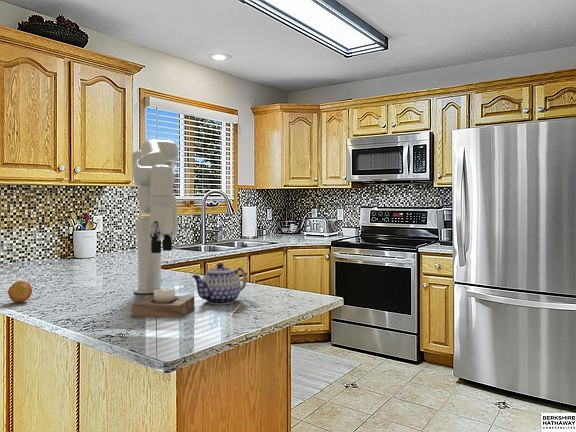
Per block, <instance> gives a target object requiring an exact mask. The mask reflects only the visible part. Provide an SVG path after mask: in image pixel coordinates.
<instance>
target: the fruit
mask: <svg viewBox="0 0 576 432" xmlns="http://www.w3.org/2000/svg"><path fill="white" fill-rule="evenodd" d="M7 293H8V297H9V298H10V300H11V301H13V302H15V303H25V302H26V301H28V300H29V299H30V297H31V296H32V294H33V288H32V285H31V283H30V282H29V281H24V280H17V281H15V282H13V283H12V284H11V286H10V287H9V288H8V291H7Z"/></svg>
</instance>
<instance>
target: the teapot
mask: <svg viewBox="0 0 576 432" xmlns="http://www.w3.org/2000/svg"><path fill="white" fill-rule="evenodd" d="M224 265H225V264H224V263H223V262H217V263H216V267H213V268H209V269H207V272H206V274H205V275H203V276H202V277H201V276H200V275H199V274H194V275H192V276H191V277H192V278H194V280H195V283H196V291H197V294H198V296H199V298H201V299H202V300H206V301H207V303H208V304H210V305H229V304H233V303H234V302H235V301H236V299H237V298H238V297H239V295H240V294H241V291H243V290H244V289H245V287H246V285H247V281H248V279H247V278H248V277H247V274H246V272H245V270H244V269H243V268H241V267H237V268H235V270H234V269H233V268H230V267H227V266H226V267H224ZM239 272H241V274H242V284H241V278H240V276H239V275H238V273H239Z"/></svg>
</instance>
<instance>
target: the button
mask: <svg viewBox="0 0 576 432" xmlns="http://www.w3.org/2000/svg"><path fill="white" fill-rule="evenodd" d="M153 296H154V301H155V302H171V301H174V300H175V296H176V289H175V288H169V287H168V288H166V287H164V289H156V290H154V293H153Z"/></svg>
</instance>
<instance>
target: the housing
mask: <svg viewBox="0 0 576 432" xmlns="http://www.w3.org/2000/svg"><path fill="white" fill-rule="evenodd" d="M194 308H195V296H194V295H193V296H191V295H185V296H184V295H175V300H174V301H171V302H155V301H154V295H149V296H147V297H145V298H143V299H141V300H140V301H137V302H134V303H132V305H131V309H132V310H131V312H132V314H131V315H132V318H133V317H134V318H135V317H136V318H173V319H174V318H177V319H179V318H182V317H183V316H184V315H185V314H187V313H188V312H190V311H192V309H194Z"/></svg>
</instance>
